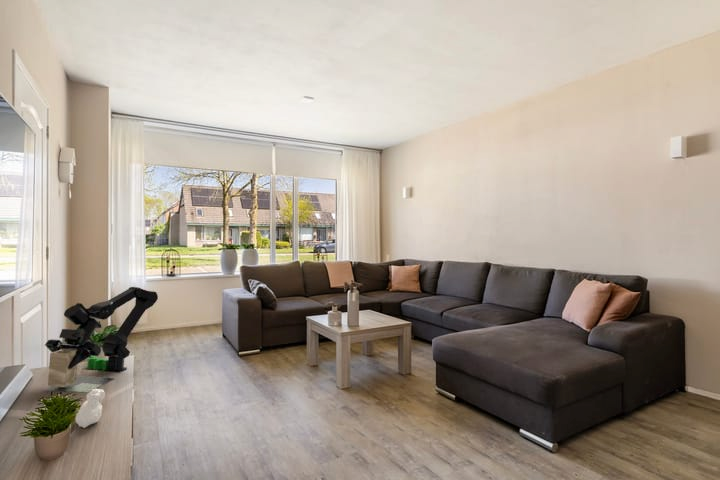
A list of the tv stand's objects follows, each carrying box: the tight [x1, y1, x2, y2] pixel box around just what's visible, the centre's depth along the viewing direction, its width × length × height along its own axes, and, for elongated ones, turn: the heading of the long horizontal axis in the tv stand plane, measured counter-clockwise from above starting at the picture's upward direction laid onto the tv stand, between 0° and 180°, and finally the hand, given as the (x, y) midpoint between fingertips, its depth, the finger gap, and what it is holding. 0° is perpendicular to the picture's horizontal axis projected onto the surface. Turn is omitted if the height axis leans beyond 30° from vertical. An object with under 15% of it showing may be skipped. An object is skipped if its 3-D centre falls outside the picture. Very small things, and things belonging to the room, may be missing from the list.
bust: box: [75, 388, 106, 429], centre depth 126 cm, size 12×8×11 cm
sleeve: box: [47, 349, 78, 387], centre depth 149 cm, size 6×6×12 cm
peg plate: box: [43, 374, 116, 395], centre depth 153 cm, size 17×16×6 cm
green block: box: [86, 356, 108, 371], centre depth 175 cm, size 11×4×5 cm, turn 67°
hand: (60, 367), depth 147 cm, fingers closed on sleeve, 6 cm apart
